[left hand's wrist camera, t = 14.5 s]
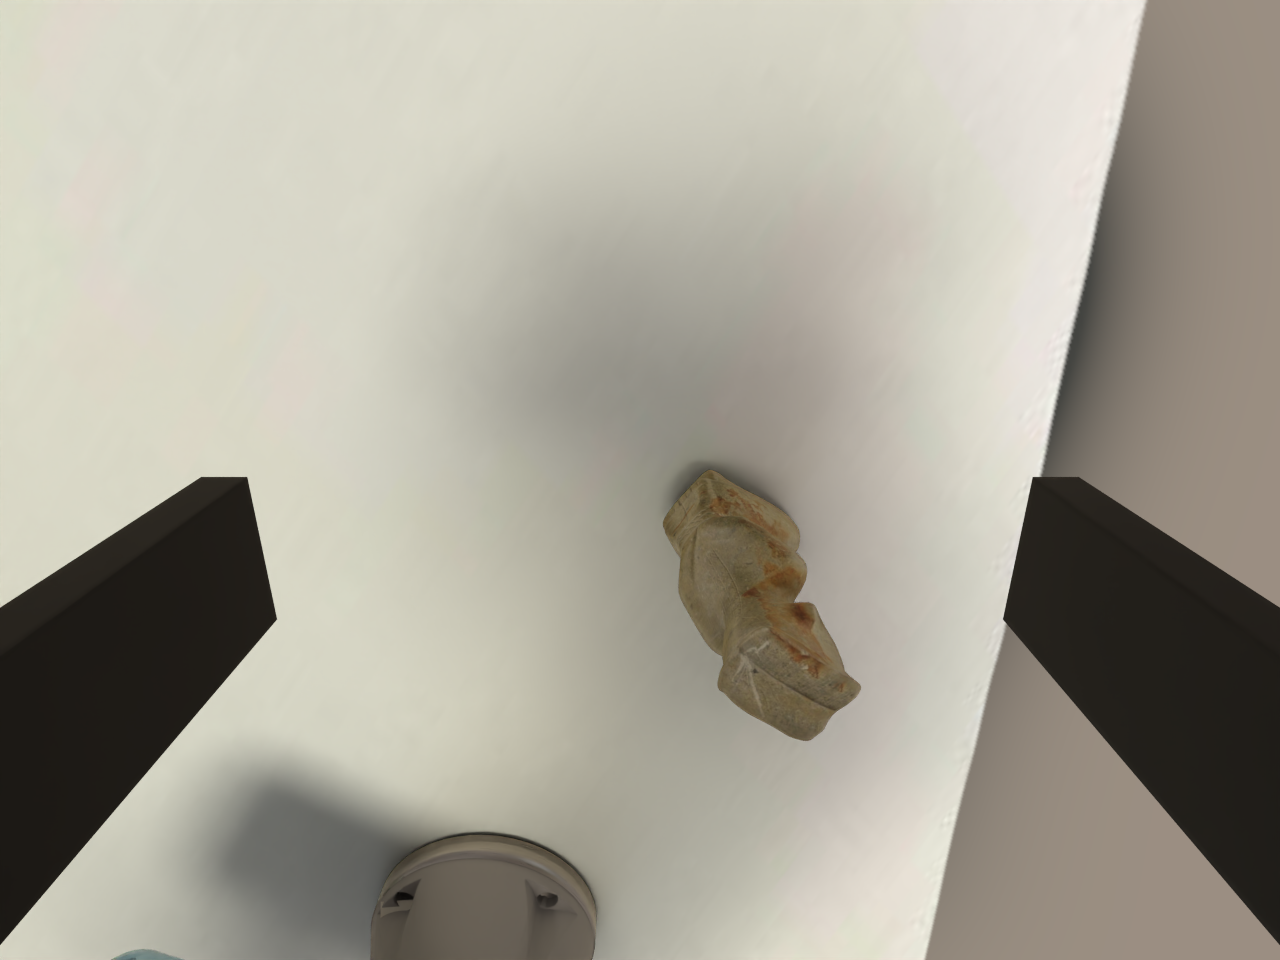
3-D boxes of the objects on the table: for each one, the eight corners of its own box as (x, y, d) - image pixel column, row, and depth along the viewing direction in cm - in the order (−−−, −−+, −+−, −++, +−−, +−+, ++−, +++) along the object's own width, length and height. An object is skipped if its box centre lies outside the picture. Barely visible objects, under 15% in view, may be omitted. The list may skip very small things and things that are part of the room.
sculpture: (739, 587, 42) (788, 783, 28) (643, 513, 41) (646, 682, 27) (811, 517, 41) (901, 688, 27) (715, 437, 39) (757, 574, 25)
